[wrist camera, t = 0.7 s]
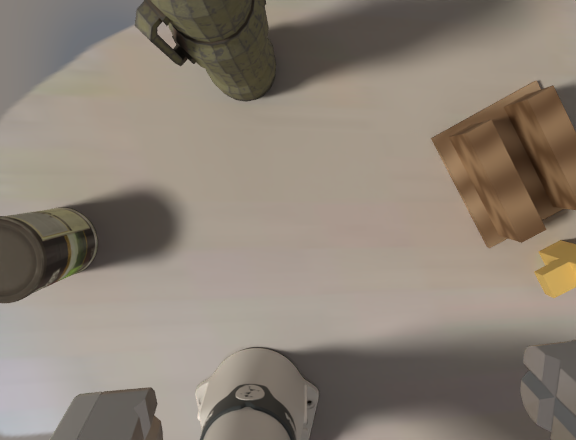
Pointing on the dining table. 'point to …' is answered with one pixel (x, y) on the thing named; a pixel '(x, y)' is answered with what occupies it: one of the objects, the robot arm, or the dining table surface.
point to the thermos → (216, 40)
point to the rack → (513, 163)
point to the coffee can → (42, 250)
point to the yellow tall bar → (558, 268)
